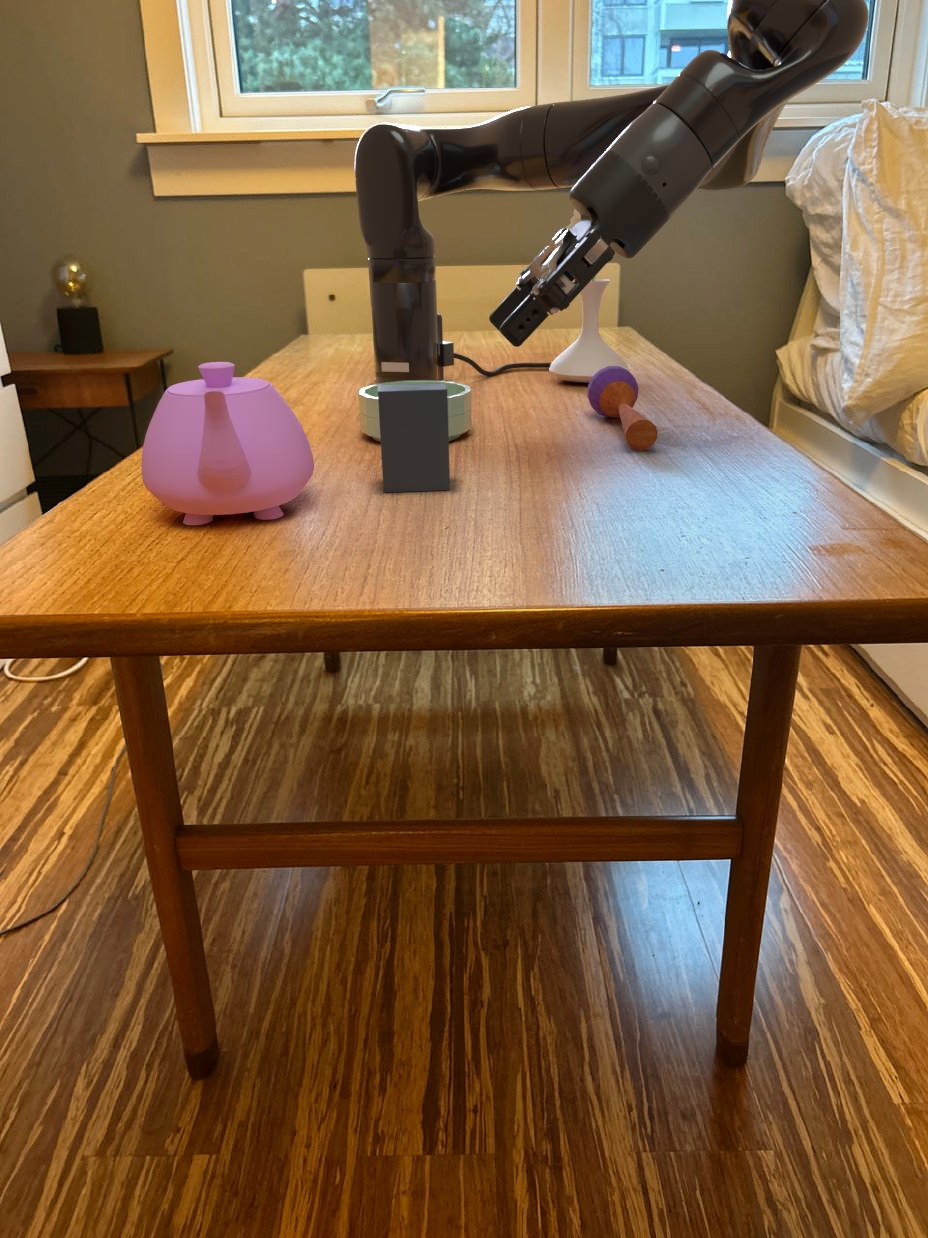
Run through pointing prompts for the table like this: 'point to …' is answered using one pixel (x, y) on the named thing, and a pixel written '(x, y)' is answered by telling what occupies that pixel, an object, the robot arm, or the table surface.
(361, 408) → the bowl
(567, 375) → the flower in vase
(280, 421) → the teapot
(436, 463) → the dark gray rectangular block
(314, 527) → the table surface
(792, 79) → the robot arm
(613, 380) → the kendama
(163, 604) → the table surface
